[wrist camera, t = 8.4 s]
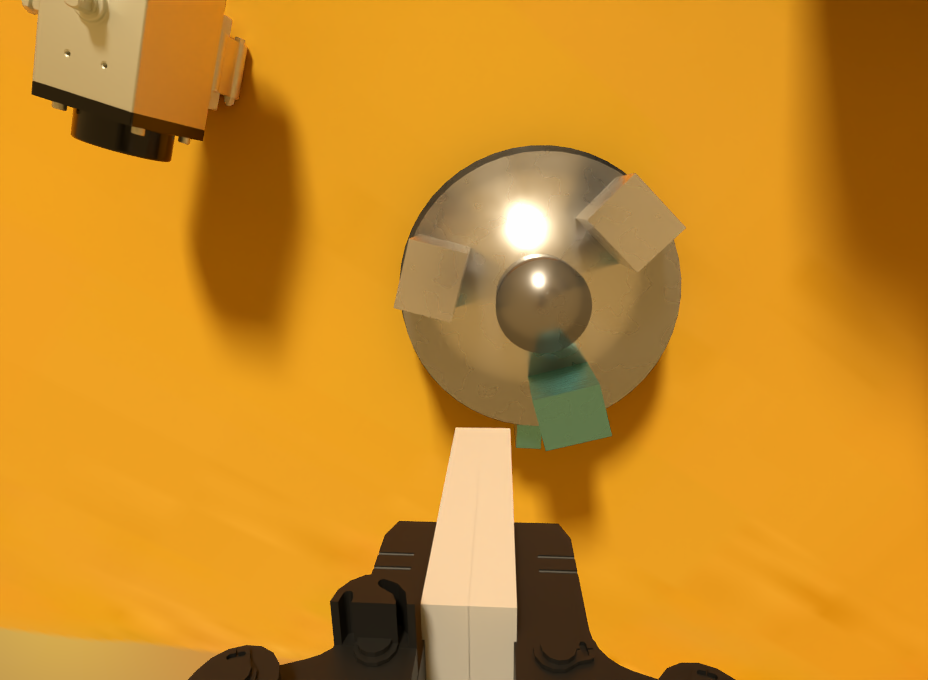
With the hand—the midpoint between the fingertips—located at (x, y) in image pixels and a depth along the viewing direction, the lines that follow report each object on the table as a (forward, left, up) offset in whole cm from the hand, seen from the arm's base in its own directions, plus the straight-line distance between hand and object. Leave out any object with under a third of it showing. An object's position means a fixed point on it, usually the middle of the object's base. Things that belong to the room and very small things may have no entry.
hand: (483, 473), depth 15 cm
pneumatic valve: (+12, -20, -23) cm, 33 cm away
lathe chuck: (-3, -1, -19) cm, 19 cm away
